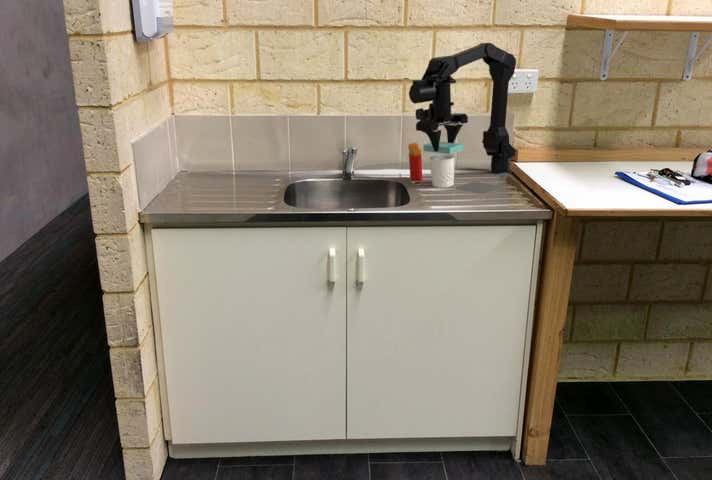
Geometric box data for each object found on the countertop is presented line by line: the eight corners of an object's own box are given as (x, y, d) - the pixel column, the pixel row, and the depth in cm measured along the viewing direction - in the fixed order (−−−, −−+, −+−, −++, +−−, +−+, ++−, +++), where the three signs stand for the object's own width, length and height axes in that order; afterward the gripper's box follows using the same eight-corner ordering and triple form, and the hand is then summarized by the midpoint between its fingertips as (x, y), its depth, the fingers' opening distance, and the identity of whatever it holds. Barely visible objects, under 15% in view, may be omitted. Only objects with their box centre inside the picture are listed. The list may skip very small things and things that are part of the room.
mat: (473, 184, 198) (473, 181, 198) (503, 189, 189) (503, 186, 189) (453, 191, 192) (453, 188, 192) (483, 196, 183) (483, 193, 183)
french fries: (422, 183, 205) (420, 145, 200) (410, 184, 205) (408, 146, 201) (422, 177, 213) (420, 140, 209) (410, 178, 214) (408, 141, 209)
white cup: (454, 190, 193) (453, 159, 190) (430, 191, 195) (428, 160, 192) (456, 184, 200) (455, 154, 197) (432, 184, 202) (430, 155, 199)
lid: (437, 147, 199) (436, 141, 199) (463, 150, 191) (463, 144, 191) (423, 151, 195) (423, 144, 195) (450, 154, 187) (449, 147, 187)
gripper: (441, 95, 200) (443, 142, 205) (401, 102, 188) (404, 152, 193) (468, 95, 192) (469, 144, 197) (428, 103, 180) (430, 155, 185)
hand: (443, 149), depth 193 cm, fingers closed on lid, 6 cm apart
